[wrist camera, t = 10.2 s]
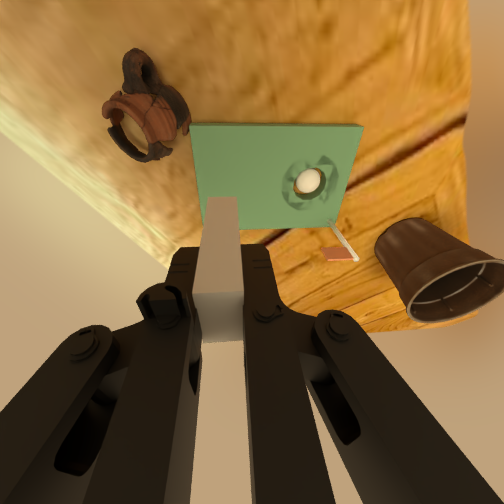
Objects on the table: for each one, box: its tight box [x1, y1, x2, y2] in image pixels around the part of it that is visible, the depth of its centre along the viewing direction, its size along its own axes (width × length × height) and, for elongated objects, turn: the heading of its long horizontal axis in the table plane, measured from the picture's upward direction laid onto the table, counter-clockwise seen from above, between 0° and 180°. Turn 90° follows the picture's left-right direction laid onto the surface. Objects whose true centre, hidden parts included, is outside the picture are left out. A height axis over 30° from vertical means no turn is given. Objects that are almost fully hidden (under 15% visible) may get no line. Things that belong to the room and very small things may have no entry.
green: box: [189, 123, 364, 230], centre depth 37 cm, size 25×17×2 cm
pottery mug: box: [102, 48, 191, 163], centre depth 28 cm, size 12×10×8 cm
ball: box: [296, 168, 320, 193], centre depth 37 cm, size 4×4×4 cm
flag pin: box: [321, 218, 359, 262], centre depth 38 cm, size 1×5×14 cm, turn 89°
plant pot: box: [375, 218, 504, 323], centre depth 43 cm, size 16×16×16 cm
